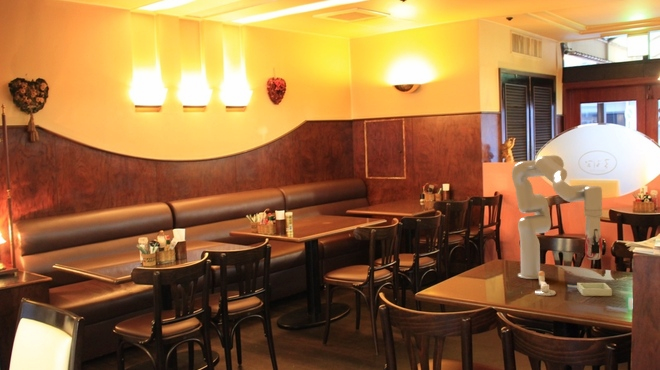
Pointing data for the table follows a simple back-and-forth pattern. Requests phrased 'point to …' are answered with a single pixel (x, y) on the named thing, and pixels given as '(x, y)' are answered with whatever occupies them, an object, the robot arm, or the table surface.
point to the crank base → (544, 293)
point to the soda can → (589, 248)
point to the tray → (594, 289)
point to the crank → (543, 282)
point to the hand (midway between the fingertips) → (593, 251)
